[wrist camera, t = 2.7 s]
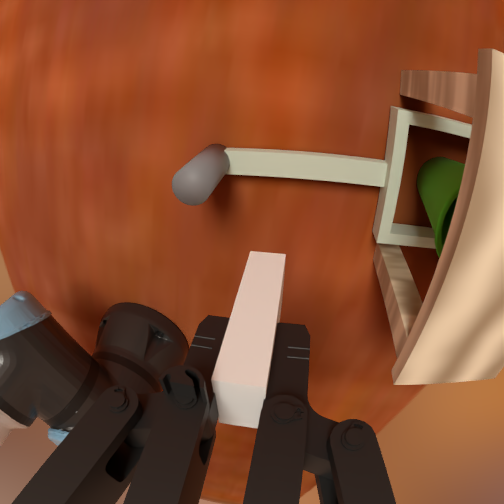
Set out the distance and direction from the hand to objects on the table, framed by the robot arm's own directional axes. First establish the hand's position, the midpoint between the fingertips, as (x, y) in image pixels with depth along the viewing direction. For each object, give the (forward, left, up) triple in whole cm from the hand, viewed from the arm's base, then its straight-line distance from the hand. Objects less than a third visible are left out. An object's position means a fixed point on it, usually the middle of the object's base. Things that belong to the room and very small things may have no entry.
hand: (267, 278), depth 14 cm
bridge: (+16, 0, -19) cm, 25 cm away
